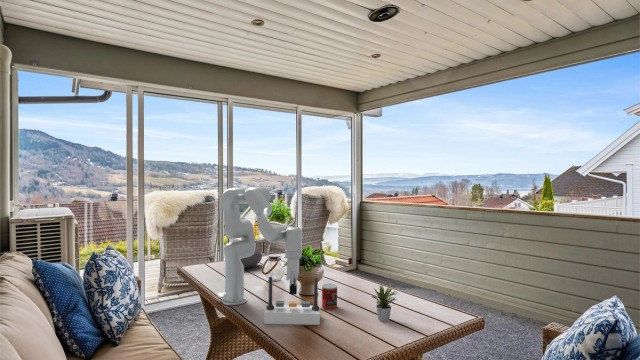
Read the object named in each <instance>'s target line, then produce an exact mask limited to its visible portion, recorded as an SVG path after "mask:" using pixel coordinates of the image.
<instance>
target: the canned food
mask: <svg viewBox="0 0 640 360" xmlns="http://www.w3.org/2000/svg"><path fill="white" fill-rule="evenodd" d="M321 307H322V309H324V310H327V311H332V310H336V309H337V307H338V285H337V284H335V283H324V284H322V286H321Z"/></svg>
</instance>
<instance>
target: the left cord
mask: <svg viewBox="0 0 640 360" xmlns="http://www.w3.org/2000/svg"><path fill="white" fill-rule="evenodd" d="M274 305H275V304H273V277H272V276H269V277H268V304H267V305H266V306H265V307H266V308H265V310H266V309H267V310H273V309H274Z"/></svg>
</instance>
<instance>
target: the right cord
mask: <svg viewBox="0 0 640 360" xmlns="http://www.w3.org/2000/svg"><path fill="white" fill-rule="evenodd" d="M318 283H319V279H318V277H314V278H313V305H311V306H312V310H313V311H319V310H320V311H321V306H320V305H318V300H319V299H318V297H319V295H318V290H319V288H318V286H319V284H318ZM319 306H320V307H319Z"/></svg>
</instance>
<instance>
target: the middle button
mask: <svg viewBox="0 0 640 360" xmlns="http://www.w3.org/2000/svg"><path fill="white" fill-rule="evenodd" d="M288 305H289V307H297V305H298V300H289V302H288Z"/></svg>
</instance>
